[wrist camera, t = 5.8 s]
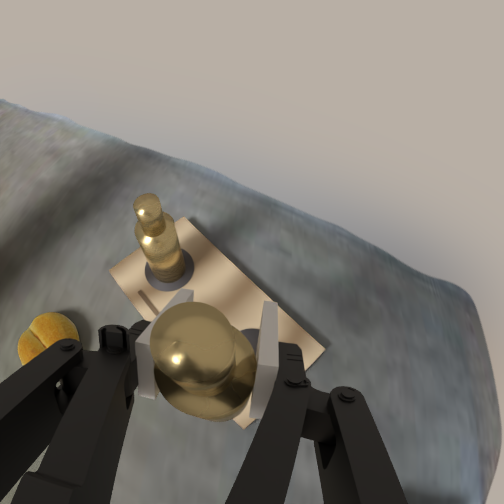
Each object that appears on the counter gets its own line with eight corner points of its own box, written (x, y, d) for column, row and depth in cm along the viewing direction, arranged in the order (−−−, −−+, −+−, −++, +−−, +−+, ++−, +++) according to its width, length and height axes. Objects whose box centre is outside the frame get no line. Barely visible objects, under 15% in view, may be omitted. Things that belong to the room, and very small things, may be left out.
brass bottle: (173, 386, 18) (100, 328, 8) (221, 349, 19) (203, 254, 10) (214, 434, 16) (181, 440, 7) (263, 394, 18) (294, 347, 8)
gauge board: (111, 275, 36) (108, 269, 35) (184, 221, 41) (183, 215, 40) (243, 429, 28) (243, 429, 26) (322, 351, 32) (325, 348, 31)
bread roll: (94, 345, 32) (79, 334, 28) (51, 396, 27) (33, 391, 24) (57, 303, 34) (42, 289, 30) (18, 350, 30) (0, 340, 26)
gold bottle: (146, 266, 36) (117, 203, 26) (172, 247, 37) (153, 180, 27) (165, 289, 34) (138, 229, 24) (192, 268, 36) (177, 203, 26)
